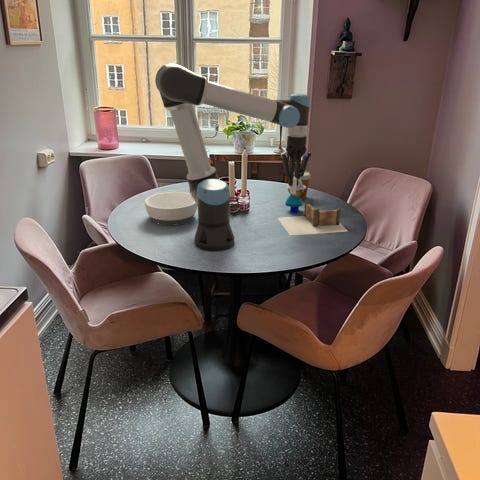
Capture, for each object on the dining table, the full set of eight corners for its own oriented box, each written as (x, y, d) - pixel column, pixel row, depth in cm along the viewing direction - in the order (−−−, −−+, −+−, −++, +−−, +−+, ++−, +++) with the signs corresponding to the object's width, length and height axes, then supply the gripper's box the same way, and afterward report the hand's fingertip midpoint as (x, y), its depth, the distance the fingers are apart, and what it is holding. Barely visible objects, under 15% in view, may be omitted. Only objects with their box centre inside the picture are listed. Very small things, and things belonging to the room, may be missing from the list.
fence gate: (316, 223, 200) (317, 209, 198) (311, 223, 200) (312, 209, 197) (307, 215, 209) (308, 201, 207) (303, 215, 209) (304, 201, 206)
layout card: (290, 236, 189) (290, 235, 189) (277, 218, 207) (277, 217, 207) (348, 232, 194) (348, 231, 193) (330, 215, 212) (330, 214, 211)
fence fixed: (313, 227, 197) (314, 210, 195) (311, 225, 200) (312, 208, 197) (340, 225, 199) (341, 208, 197) (338, 223, 202) (339, 206, 199)
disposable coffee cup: (310, 195, 237) (311, 171, 233) (308, 201, 229) (309, 176, 224) (290, 193, 239) (291, 170, 235) (288, 199, 231) (289, 175, 226)
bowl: (142, 212, 215) (141, 194, 211) (192, 207, 221) (191, 189, 218) (149, 230, 195) (148, 211, 192) (204, 224, 201) (203, 205, 198)
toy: (303, 215, 211) (305, 182, 205) (283, 214, 212) (285, 181, 207) (305, 209, 219) (307, 176, 213) (286, 207, 220) (287, 175, 214)
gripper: (285, 137, 184) (281, 197, 193) (316, 136, 188) (311, 194, 197) (278, 134, 190) (274, 191, 200) (307, 133, 195) (302, 189, 204)
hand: (292, 193), depth 198 cm, fingers closed
